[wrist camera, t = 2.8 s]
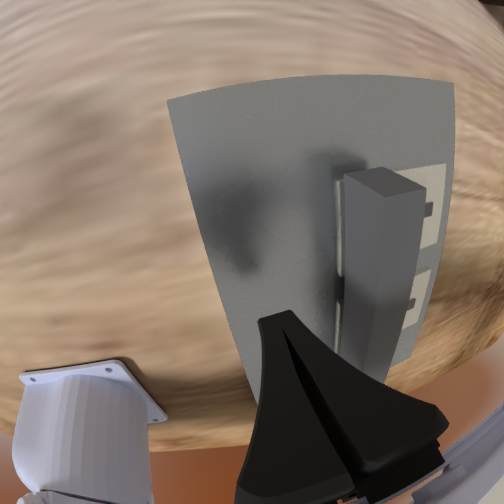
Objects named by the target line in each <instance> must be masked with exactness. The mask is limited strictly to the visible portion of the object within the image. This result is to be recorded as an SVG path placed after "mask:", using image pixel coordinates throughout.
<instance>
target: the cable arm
mask: <svg viewBox="0 0 504 504" xmlns="http://www.w3.org/2000/svg"><path fill="white" fill-rule="evenodd" d="M344 190H345V287H344V307H343V323H342V336H341V348H340V357H342V358H343V359H344V360H346V361H347V362H348V363H350V364H351V365H353V366H354V367H355V368H357V369H359V370H360V371H362V372H363V373H365V374H366V375H368V376H370V377H371V378H373V379H375V380H377V381H379V382H381V383H383V384H384V382H385V379H386V376H387V373H388V370H389V368H390V365H391V362H392V359H393V356H394V353H395V350H396V346H397V343H398V340H399V337H400V333H401V330H402V326H403V322H404V319H405V315H406V311H407V307H408V303H409V299H410V295H411V290H412V286H413V281H414V276H415V271H416V266H417V261H418V255H419V249H420V243H421V236H422V229H423V222H424V213H425V204H426V193H427V188H426V187H424V186H422V185H420V184H418V183H416V182H414V181H412V180H410V179H408V178H406V177H404V176H402V175H400V174H397V173H395V172H393V171H391V170H389V169H387V168H384V167H378V168H372V169H366V170H360V171H355V172H350V173H344Z"/></svg>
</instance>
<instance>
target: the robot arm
mask: <svg viewBox="0 0 504 504" xmlns="http://www.w3.org/2000/svg"><path fill="white" fill-rule="evenodd" d="M257 323H258V328H259V332H260V336H261V347H262V371H261V386H260V395H259V402H258V409H257V414H256V419H255V424H254V429H253V433H252V437H251V441H250V444H249V448H248V452H247V455H246V458H245V461H244V464H243V467H242V469H241V472H240V475H239V478H238V481H237V486H236V492H235V500H234V504H338V503H337V500H339V499H342V502H343V503H344V502H347V501H350V500H352V499H354V498H358V500H355V501H353V502H351V503H348V504H383V503H385V502H387V501H389V500H391V499H393V498H395V497H397V496H399V495H400V494H402V493H404V492H406V491H408V490H409V489H411V488H413V487H414V486H416V485H418V484H419V483H421V482H423V481H424V480H425V479H427V478H429V477H430V476H432V475H433V474H435V473H436V472H438V471H439V470H441V469H442V468H444V469H443V473H442V474H441V475H440V476H438V477H437V478H435V479H433V480H432V481H430V482H428V483H427V484H425V485H424V486H422V487H421V488H419V489H418V490H416V491H414V492H413V493H412V494H411V495H412V497H413V499H414V501H412V502H410V503H408V504H478V503H479V502H480V501H481V500H482V499H483V498H484V497H485V496H486V495H487V494H488V493H489V492H490V491H491V490H492V489H493V488H494V486H495V485H496V484H497V483H498V482H499V481H500V480H501V478H502V477H503V476H504V402H503V403H502V404H501V405H500V406H499V407H498V408H497V409H496V410H494V411H493V412H492V413H491V414H490V415H489V416H488V417H487V418H486V419H485V420H484V421H482V422H481V423H480V424H479V425H478V426H476V427H475V428H474V429H473V430H472V431H470V432H469V433H468V434H467V435H465V436H464V437H463V438H462V439H460V440H459V441H458V442H456V443H455V444H454V445H452V446H451V447H450V448H448V449H447V450H446V451H444V452H442V453H440V451H439V450H438V447H439V446H440V444H439V442H438V441H437V438H438V437H439V436H440V435H441V434H442V433H443V432H444V431H445V430H446V429H447V428H448V426H449V422H448V420H447V419H446V417H445V416H444V415H443V414H442V412H441V411H440V410H439V409H438V408H437V406H436V405H434V404H430V403H427V402H424V401H421V400H419V399H416V398H413V397H411V396H408V395H406V394H403V393H401V392H399V391H396V390H394V389H392V388H390V387H388V386H386V385H385V384H383V383H381V382H379V381H377V380H375V379H373V378H371V377H370V376H368V375H366V374H365V373H363V372H362V371H360V370H359V369H357V368H355V367H354V366H353V365H351V364H350V363H348V362H347V361H346V360H344V359H343V358H342V357H340V356H339V355H338V354H336V353H335V352H334V351H333V350H331V349H330V348H329V347H328V346H327V345H326V344H325V343H323V342H322V341H321V340H320V339H319V338H318V337H317V336H316V335H315V334H313V333H312V332H311V331H310V330H309V329H308V328H307V327H306V326H305V325H304V323H303V322H302V321H301V320H300V319H299V318H298V317H297V316H296V315H295V313H294V312H293V311H292V310H290V309H289V310H286V311H283V312H279V313H276V314H273V315H269V316H266V317H262V318H259V319H258V321H257ZM19 379H20V380H21V381H22V382H23V383H24V384H25V385H26V386H25V390H24V393H23V397H22V401H21V405H20V409H19V413H18V418H17V422H16V427H15V432H14V438H13V443H12V457H13V462H14V466H15V469H16V472H17V474H18V476H19V477H20V479H21V481H22V482H23V483H24V484H25V485H26V486H27V487H28V488H29V489H30V490H31V491H33V493H28V494H26V495H25V496H23V497H21V498H20V499H19V500H18V501H17V504H154V499H153V491H152V482H151V471H150V459H149V443H148V424H151V423H158V422H165V421H167V419H168V418H167V414H166V413H165V412H164V411H163V410H162V409H161V408H160V407H159V406H158V405H157V404H156V402H155V401H154V400H153V399H152V398H151V397H150V396H149V394H148V393H147V392H146V391H145V390H144V389H143V387H142V386H141V385H140V384H139V383H138V381H137V380H136V379H135V378H134V376H133V375H132V374H131V373H130V371H129V370H128V369H127V368H126V366H125V365H124V364H123V363H122V362H121V361H119V360H108V361H103V362H97V363H91V364H85V365H78V366H72V367H65V368H57V369H50V370H41V371H33V372H23V373H20V376H19Z"/></svg>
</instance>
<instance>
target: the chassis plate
mask: <svg viewBox="0 0 504 504" xmlns="http://www.w3.org/2000/svg"><path fill="white" fill-rule="evenodd" d="M167 105H168V109H169V114H170V118H171V122H172V126H173V130H174V135H175V139H176V143H177V147H178V151H179V155H180V159H181V162H182V166H183V170H184V174H185V178H186V182H187V185H188V189H189V193H190V196H191V200H192V204H193V207H194V211H195V215H196V218H197V222H198V225H199V229H200V232H201V236H202V239H203V242H204V246H205V249H206V253H207V256H208V259H209V263H210V266H211V269H212V272H213V276H214V279H215V282H216V285H217V289H218V292H219V295H220V298H221V301H222V304H223V307H224V310H225V314H226V317H227V320H228V323H229V326H230V329H231V332H232V335H233V338H234V341H235V344H236V347H237V350H238V352H239V355H240V358H241V361H242V364H243V367H244V370H245V373H246V375H247V378H248V381H249V384H250V387H251V389H252V392H253V395H254V398H255V400H256V403H257V406H258V402H259V395H260V386H261V371H262V347H261V336H260V332H259V328H258V323H257V321H258V319H259V318H262V317H266V316H269V315H273V314H276V313H279V312H283V311H286V310H289V309H290V310H292V311H293V312H294V313H295V315H296V316H297V317H298V318H299V319H300V320H301V321H302V322H303V323H304V325H305V326H306V327H307V328H308V329H309V330H310V331H311V332H312V333H313V334H315V335H316V336H317V337H318V338H319V339H320V340H321V341H322V342H323V343H325V344H326V345H327V346H328V347H329V348H330V349H331V350H333V351H334V352H335V353H336V354H338V355H339V356H340V348H341V336H342V323H343V307H344V287H345V190H344V173H350V172H355V171H360V170H366V169H372V168H378V167H384V168H387V169H389V170H391V171H393V172H395V173H397V174H400V175H402V176H404V177H406V178H408V179H410V180H412V181H414V182H416V183H418V184H420V185H422V186H424V187H426V188H427V193H426V204H425V213H424V222H423V229H422V236H421V243H420V249H419V255H418V261H417V266H416V271H415V276H414V281H413V286H412V290H411V295H410V299H409V303H408V307H407V311H406V315H405V319H404V322H403V326H402V330H401V333H400V337H399V340H398V343H397V346H396V350H395V353H394V356H393V359H392V362H391V365H390V367H392V366H394V365H396V364H398V363H400V362H402V361H404V360H406V359H408V358H410V356H411V354H412V351H413V348H414V346H415V343H416V340H417V338H418V335H419V332H420V329H421V326H422V323H423V320H424V317H425V314H426V311H427V307H428V304H429V301H430V297H431V294H432V290H433V287H434V283H435V279H436V275H437V271H438V267H439V262H440V258H441V253H442V249H443V244H444V238H445V233H446V227H447V221H448V215H449V208H450V200H451V192H452V182H453V170H454V154H455V100H454V84H453V83H450V82H444V81H437V80H430V79H421V78H412V77H400V76H384V75H321V76H304V77H292V78H282V79H273V80H265V81H258V82H251V83H244V84H238V85H233V86H227V87H222V88H217V89H212V90H207V91H203V92H198V93H194V94H190V95H186V96H182V97H178V98H174V99H170V100H167Z"/></svg>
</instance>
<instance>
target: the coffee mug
mask: <svg viewBox="0 0 504 504" xmlns="http://www.w3.org/2000/svg"><path fill="white" fill-rule="evenodd" d="M480 1H481V2H483V3H485V4H490V5H497V6H504V0H480Z"/></svg>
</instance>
